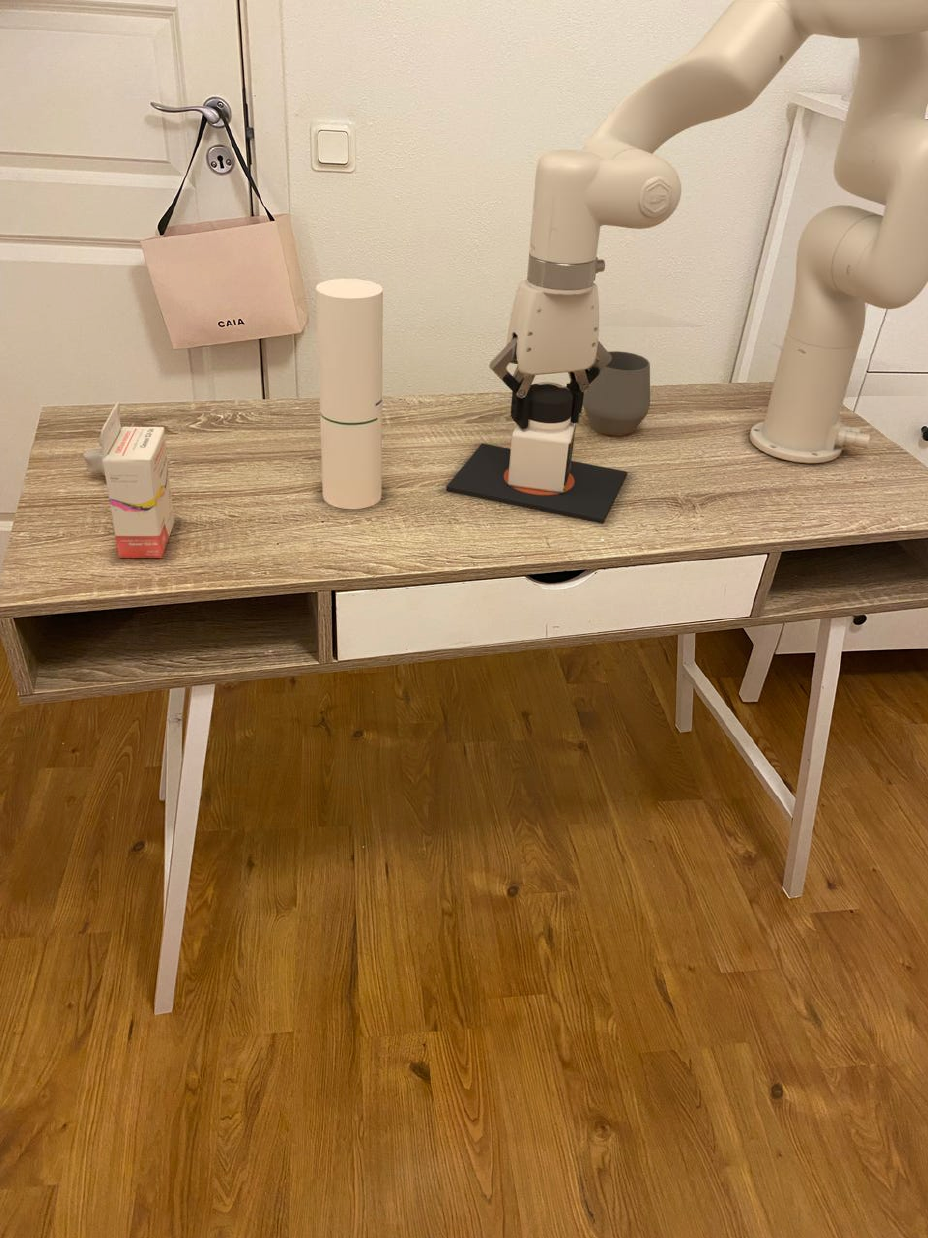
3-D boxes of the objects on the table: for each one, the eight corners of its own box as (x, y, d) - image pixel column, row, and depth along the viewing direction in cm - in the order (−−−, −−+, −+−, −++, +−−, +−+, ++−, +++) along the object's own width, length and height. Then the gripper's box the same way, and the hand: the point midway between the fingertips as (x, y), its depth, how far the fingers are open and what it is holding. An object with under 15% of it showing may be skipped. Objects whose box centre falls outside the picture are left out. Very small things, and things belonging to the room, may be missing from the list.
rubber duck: (146, 483, 121) (138, 422, 117) (89, 491, 119) (78, 428, 114) (140, 464, 125) (131, 404, 121) (85, 471, 123) (74, 410, 119)
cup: (599, 410, 148) (609, 343, 142) (656, 427, 143) (668, 360, 138) (567, 429, 141) (575, 361, 135) (625, 448, 137) (636, 378, 131)
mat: (626, 475, 130) (627, 470, 130) (603, 523, 119) (603, 518, 119) (481, 447, 135) (481, 442, 135) (445, 490, 124) (446, 485, 124)
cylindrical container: (390, 488, 124) (392, 284, 109) (367, 513, 118) (366, 302, 104) (337, 477, 125) (333, 275, 111) (312, 502, 120) (304, 291, 106)
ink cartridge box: (165, 559, 107) (147, 432, 99) (117, 559, 107) (96, 432, 99) (177, 520, 114) (161, 399, 106) (132, 520, 114) (113, 398, 106)
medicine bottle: (564, 494, 123) (575, 402, 116) (507, 486, 124) (514, 395, 117) (570, 469, 129) (581, 380, 122) (516, 462, 130) (524, 373, 123)
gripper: (613, 259, 118) (594, 403, 128) (477, 266, 112) (468, 416, 122) (644, 277, 112) (622, 426, 122) (502, 286, 106) (491, 441, 117)
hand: (545, 420), depth 122 cm, fingers closed on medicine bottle, 6 cm apart
